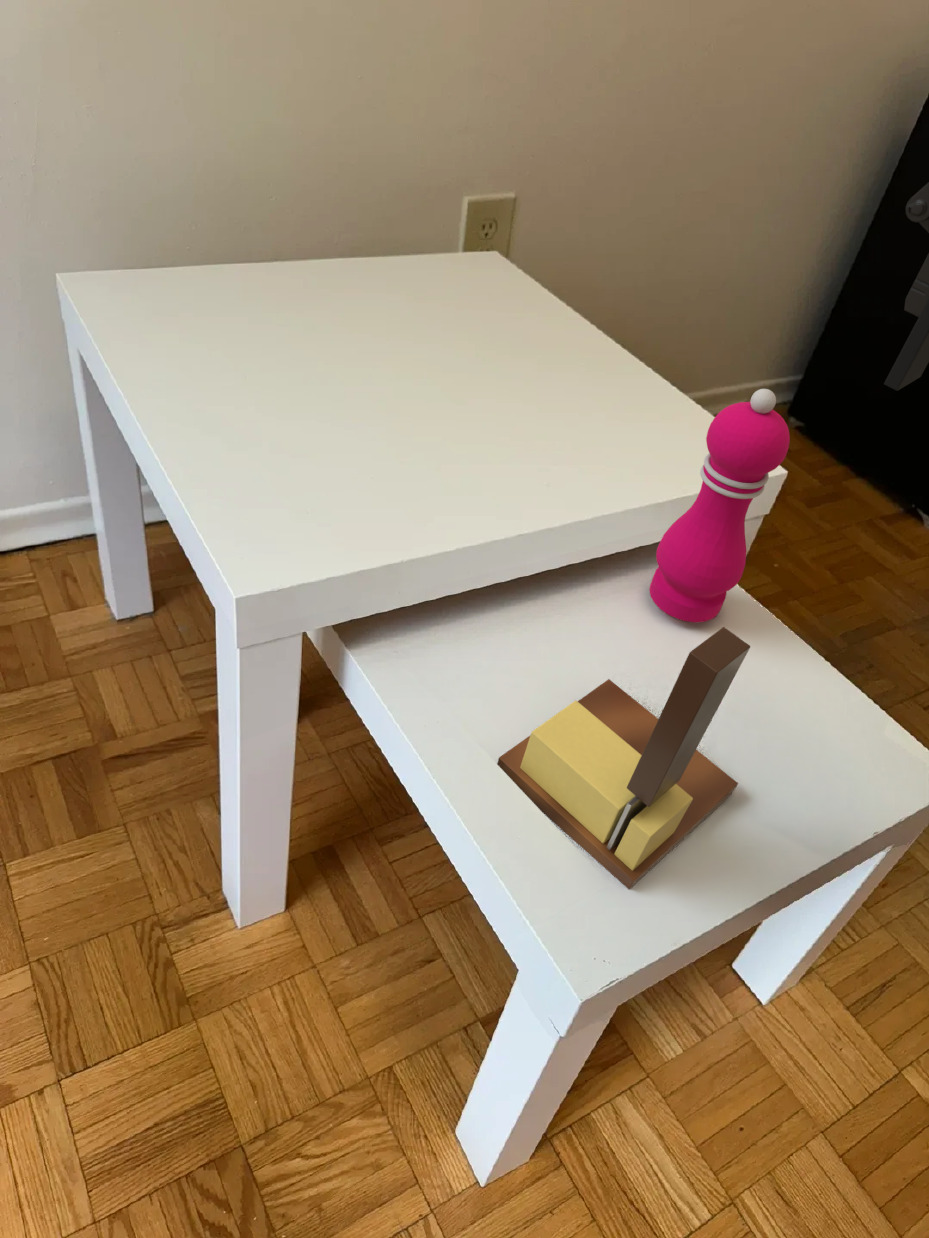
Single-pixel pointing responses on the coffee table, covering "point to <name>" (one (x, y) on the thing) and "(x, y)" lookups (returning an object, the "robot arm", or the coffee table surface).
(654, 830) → the butter
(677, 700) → the knife
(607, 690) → the board
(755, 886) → the coffee table surface
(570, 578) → the coffee table surface
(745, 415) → the pepper mill
